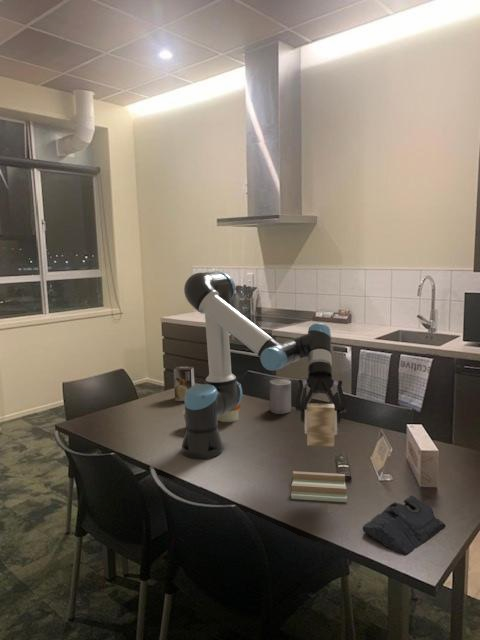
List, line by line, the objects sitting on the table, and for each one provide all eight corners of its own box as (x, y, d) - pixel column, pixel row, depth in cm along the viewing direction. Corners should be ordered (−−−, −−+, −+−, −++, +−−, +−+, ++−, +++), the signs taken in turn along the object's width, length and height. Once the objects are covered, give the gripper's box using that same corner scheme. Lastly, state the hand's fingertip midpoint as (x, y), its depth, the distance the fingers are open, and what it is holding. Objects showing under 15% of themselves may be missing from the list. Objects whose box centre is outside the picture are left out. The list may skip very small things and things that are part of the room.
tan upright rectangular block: (307, 445, 147) (307, 406, 145) (307, 440, 150) (307, 403, 148) (334, 446, 146) (334, 407, 144) (333, 441, 149) (334, 403, 147)
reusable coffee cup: (247, 416, 214) (247, 383, 212) (231, 425, 204) (231, 390, 202) (224, 412, 221) (223, 379, 219) (207, 420, 211) (206, 386, 208)
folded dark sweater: (352, 533, 126) (352, 516, 126) (398, 503, 140) (398, 487, 140) (406, 560, 115) (406, 542, 114) (450, 525, 129) (451, 508, 128)
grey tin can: (270, 406, 227) (270, 375, 225) (291, 407, 226) (291, 376, 224) (269, 414, 218) (268, 381, 215) (291, 414, 216) (290, 381, 214)
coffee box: (195, 397, 243) (194, 366, 241) (192, 401, 237) (191, 369, 235) (178, 397, 245) (176, 365, 243) (174, 401, 239) (173, 369, 236)
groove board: (291, 498, 143) (291, 489, 143) (293, 477, 157) (293, 468, 156) (346, 502, 141) (346, 492, 140) (344, 479, 154) (344, 470, 154)
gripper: (352, 372, 159) (355, 438, 146) (287, 371, 162) (285, 436, 149) (353, 360, 153) (357, 428, 140) (287, 359, 156) (284, 425, 143)
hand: (320, 432), depth 144 cm, fingers closed on tan upright rectangular block, 8 cm apart
